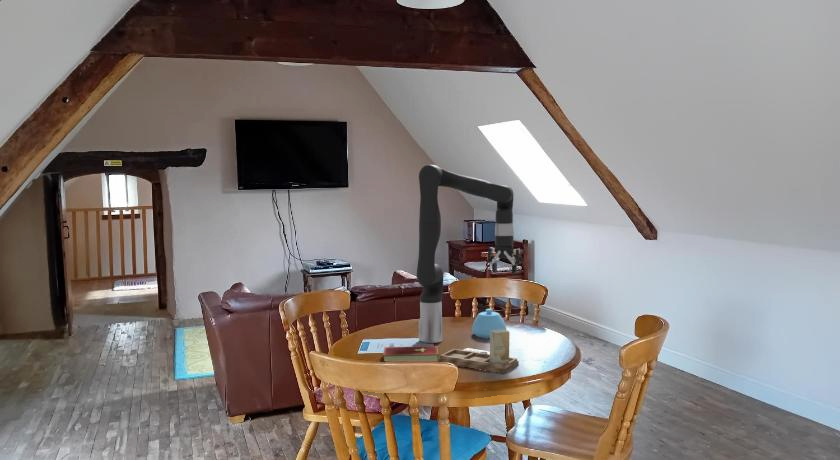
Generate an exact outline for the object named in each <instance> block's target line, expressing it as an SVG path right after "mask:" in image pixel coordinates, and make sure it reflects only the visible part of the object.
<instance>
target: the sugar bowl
mask: <svg viewBox="0 0 840 460" xmlns="http://www.w3.org/2000/svg"><path fill="white" fill-rule="evenodd" d="M501 329H506V330H507V326H506V323H505V321H504V319H503V317H502V315H501V314H500V313H499V312H496V311H493V309H491V308H486V309H485V311H482V312H480V313H478V315H477V316H476V318H475V319H474V321H473V324H472V329H471V331H472V333H473V334H474V336H475V335H476V336H475V337H477V338H480V337H481V338H480V339H488V338H490V330H501Z"/></svg>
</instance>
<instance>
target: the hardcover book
mask: <svg viewBox="0 0 840 460" xmlns="http://www.w3.org/2000/svg"><path fill="white" fill-rule="evenodd" d="M382 352H383V354H382V357H383V362H384V361H437V362H438V363H439V360H438V356H439V347H438V345H436V346H435V345H433V346H432V345H431V346H429V345H427V346H423V345H421V346H385V347H384V348H383V351H382Z"/></svg>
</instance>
